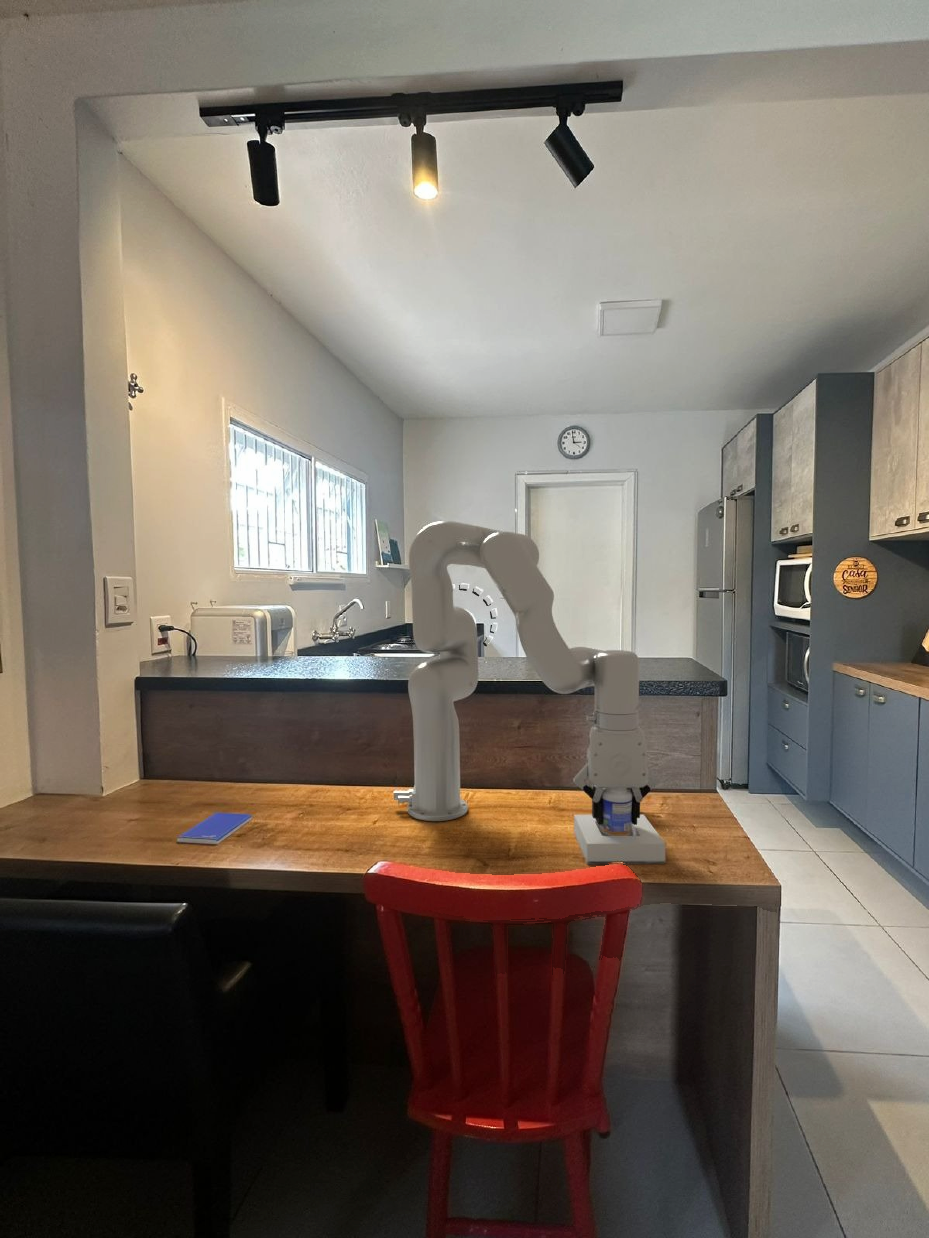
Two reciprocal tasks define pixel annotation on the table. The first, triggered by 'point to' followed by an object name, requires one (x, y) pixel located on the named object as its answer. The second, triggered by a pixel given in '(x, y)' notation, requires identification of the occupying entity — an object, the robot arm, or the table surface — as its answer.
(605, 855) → the housing
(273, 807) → the table surface
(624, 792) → the pill bottle
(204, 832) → the hard drive
